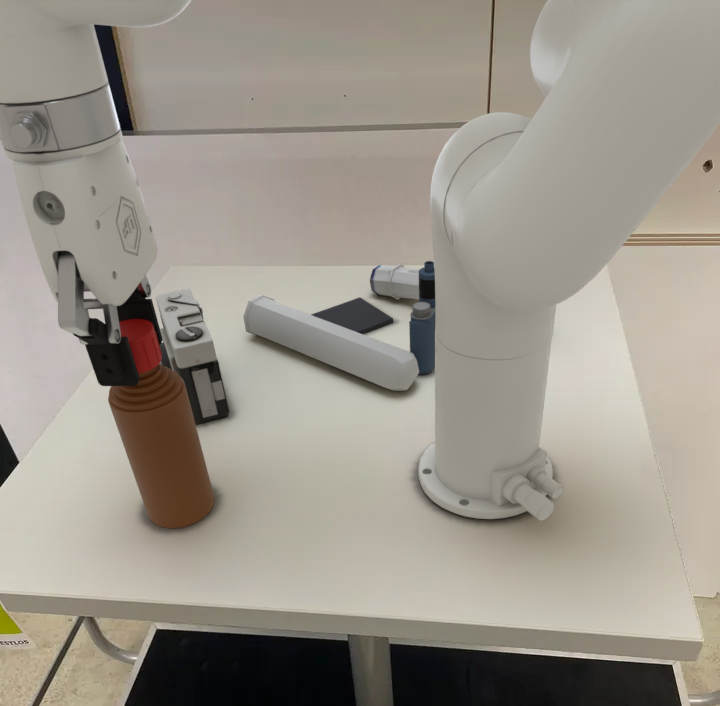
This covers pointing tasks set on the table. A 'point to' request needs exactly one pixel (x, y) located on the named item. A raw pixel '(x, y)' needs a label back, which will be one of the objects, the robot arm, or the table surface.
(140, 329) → the cap
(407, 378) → the tube
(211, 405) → the camera
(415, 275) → the white faceted cylinder
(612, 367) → the table surface
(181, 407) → the bottle
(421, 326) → the vaping device
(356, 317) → the mat
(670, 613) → the table surface
